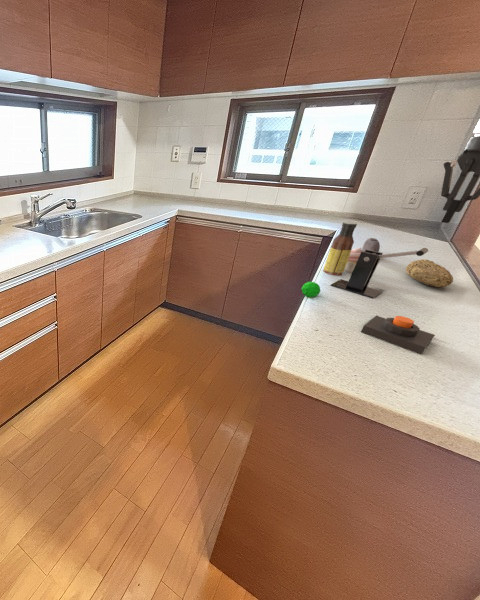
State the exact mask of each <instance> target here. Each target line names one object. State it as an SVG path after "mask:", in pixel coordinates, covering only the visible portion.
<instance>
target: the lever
mask: <svg viewBox="0 0 480 600" xmlns="http://www.w3.org/2000/svg"><path fill="white" fill-rule="evenodd" d="M428 252H429V249H428V248H427V247H422V248H421V249H419V250H411V251H410V250H409V251H402V252H392V253H383V254H382V255H379V256H378V258H380V259H386V258H394V257H405V256H414V255H416V256H417V257H422V256H424V255H425V254H427V253H428ZM372 254H376V253H372ZM378 258H377V259H378Z"/></svg>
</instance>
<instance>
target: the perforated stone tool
mask: <svg viewBox="0 0 480 600" xmlns="http://www.w3.org/2000/svg"><path fill="white" fill-rule="evenodd" d="M366 249H367V250H372V251H376V252H380V249H381V243H380V241H379V240H378V239H377V238H374V237H369V238H367V239H366V240H365V241H364V243H363V245H362V251H363V252H365V250H366Z"/></svg>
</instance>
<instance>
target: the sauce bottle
mask: <svg viewBox="0 0 480 600" xmlns="http://www.w3.org/2000/svg"><path fill="white" fill-rule="evenodd" d="M357 225H358V224H357V222H353V221H342V224H341V228H340V232H339V234H338V235H337V236H336V237H335V238H334V239H333V240H332V243H331V246H330V249H329V251H328V254H327V257H326V259H325V263H324V267H323V270H322V271H323V273H324V274H328V275H331V276H335V277H338V276H339V277H340V276H342V275H343V273H345V272H344V269H345V266H346V264H347V261H348V258H349V256H350V253H351V250H353V247H354V243H355V241H354V236H353V235H354V232H355V230H356V228H357Z"/></svg>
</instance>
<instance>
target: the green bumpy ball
mask: <svg viewBox="0 0 480 600" xmlns="http://www.w3.org/2000/svg"><path fill="white" fill-rule="evenodd" d="M320 292H321V287H320V285H319V284H318V283H317V282H315V281H307V282H305V283H304V284H303V285H302V286H301V293H302V294H303V295H304V296H305V297H307V298H315V297H317V296H318V295H320Z"/></svg>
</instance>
